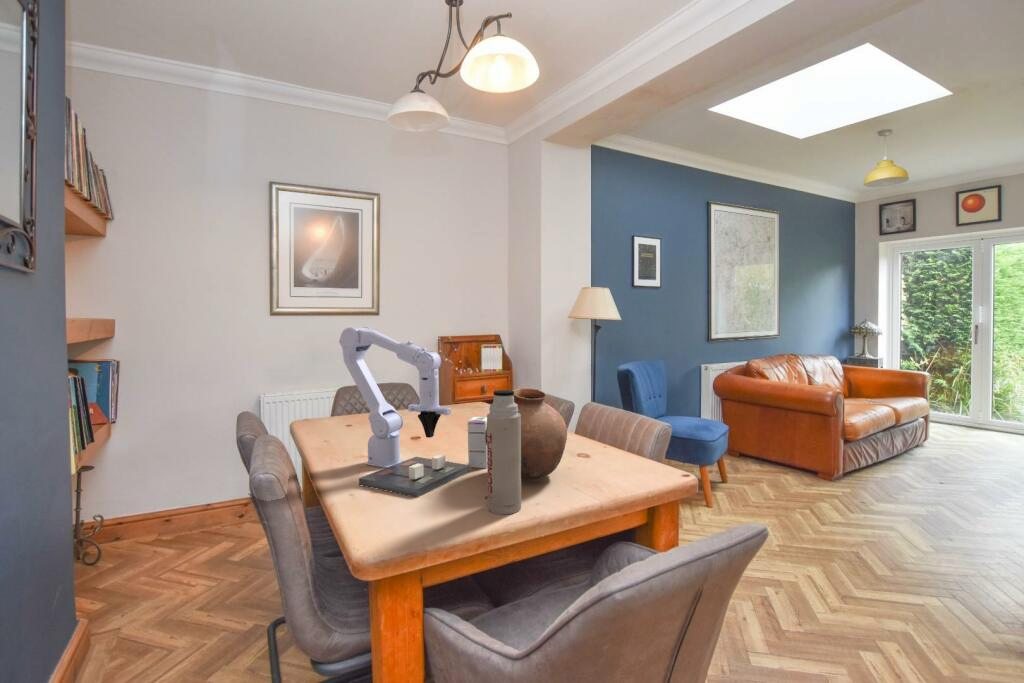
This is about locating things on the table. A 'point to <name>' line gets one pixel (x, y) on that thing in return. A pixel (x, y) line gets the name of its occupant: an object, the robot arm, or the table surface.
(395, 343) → the robot arm
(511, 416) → the thermos bottle
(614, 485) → the table surface
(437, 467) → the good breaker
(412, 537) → the table surface
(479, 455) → the syrup box
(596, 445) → the table surface
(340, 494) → the table surface
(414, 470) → the beige rectangular block
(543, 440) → the pottery
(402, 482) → the breaker panel
